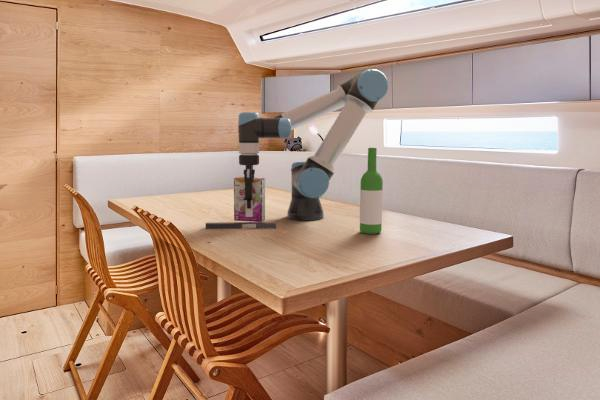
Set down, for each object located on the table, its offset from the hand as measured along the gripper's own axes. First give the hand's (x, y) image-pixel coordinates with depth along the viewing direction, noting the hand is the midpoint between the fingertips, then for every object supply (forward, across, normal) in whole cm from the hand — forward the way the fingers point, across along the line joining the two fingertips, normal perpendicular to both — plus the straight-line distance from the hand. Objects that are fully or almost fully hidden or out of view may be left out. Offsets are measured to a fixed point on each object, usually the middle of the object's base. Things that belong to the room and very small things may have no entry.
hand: (249, 215), depth 178 cm
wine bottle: (+4, +14, +44) cm, 46 cm away
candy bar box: (+2, 0, 0) cm, 2 cm away
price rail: (+4, +5, -3) cm, 7 cm away
